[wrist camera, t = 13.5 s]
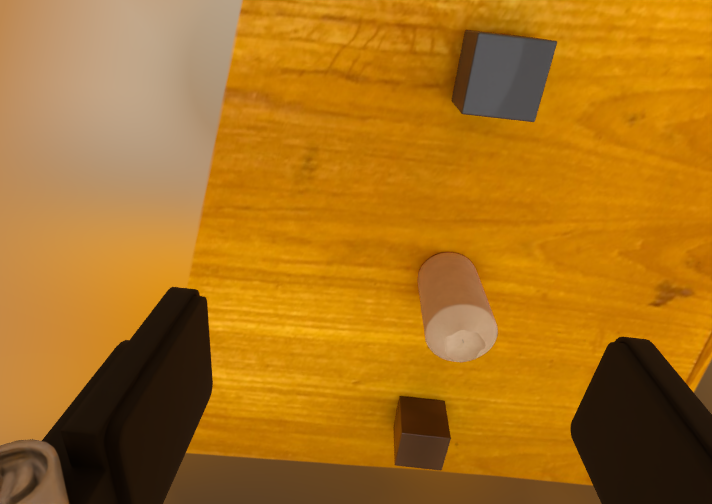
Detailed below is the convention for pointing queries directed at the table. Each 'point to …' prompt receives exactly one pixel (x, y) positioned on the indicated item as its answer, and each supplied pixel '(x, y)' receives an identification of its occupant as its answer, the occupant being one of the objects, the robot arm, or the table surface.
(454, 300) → the candle
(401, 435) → the far block
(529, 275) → the table surface
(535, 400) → the table surface
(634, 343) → the robot arm
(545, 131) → the table surface
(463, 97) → the near block
